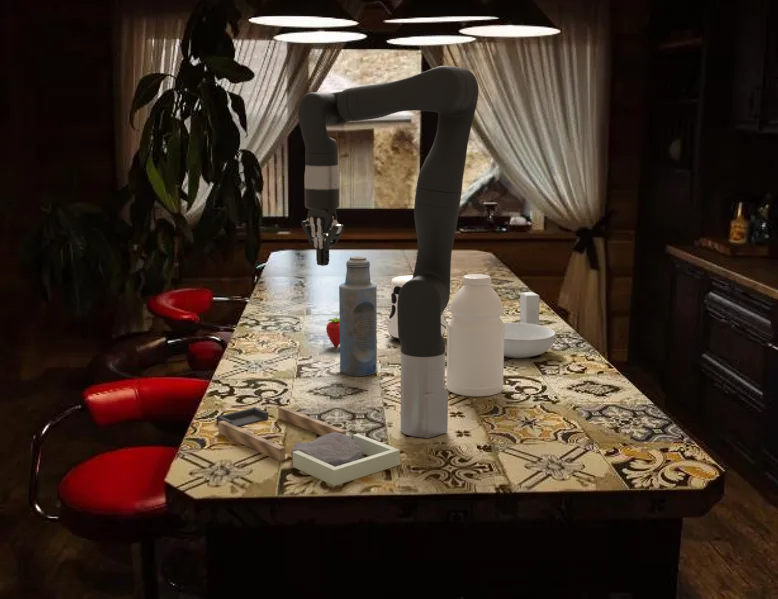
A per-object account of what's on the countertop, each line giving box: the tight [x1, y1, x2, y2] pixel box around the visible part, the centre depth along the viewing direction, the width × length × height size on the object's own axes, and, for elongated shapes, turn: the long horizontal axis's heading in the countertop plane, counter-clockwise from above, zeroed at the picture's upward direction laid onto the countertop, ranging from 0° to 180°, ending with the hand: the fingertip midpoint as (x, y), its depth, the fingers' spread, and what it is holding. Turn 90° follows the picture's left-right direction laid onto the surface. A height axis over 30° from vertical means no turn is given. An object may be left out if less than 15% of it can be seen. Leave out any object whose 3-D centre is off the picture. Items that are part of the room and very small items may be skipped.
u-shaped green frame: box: [292, 433, 401, 487], centre depth 184 cm, size 13×16×3 cm
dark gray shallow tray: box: [216, 407, 269, 427], centre depth 210 cm, size 5×10×2 cm, turn 132°
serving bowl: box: [504, 322, 556, 359], centre depth 268 cm, size 21×21×7 cm
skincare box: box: [519, 291, 540, 325], centre depth 293 cm, size 6×4×12 cm
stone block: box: [290, 433, 363, 467], centre depth 186 cm, size 12×5×10 cm
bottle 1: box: [338, 255, 378, 377], centre depth 247 cm, size 10×10×30 cm
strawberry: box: [325, 314, 340, 348], centre depth 275 cm, size 6×8×10 cm
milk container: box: [387, 274, 447, 341], centre depth 284 cm, size 17×17×18 cm
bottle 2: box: [445, 273, 506, 398], centre depth 232 cm, size 14×14×28 cm
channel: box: [218, 405, 347, 462], centre depth 199 cm, size 22×16×2 cm
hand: (322, 264), depth 213 cm, fingers closed
